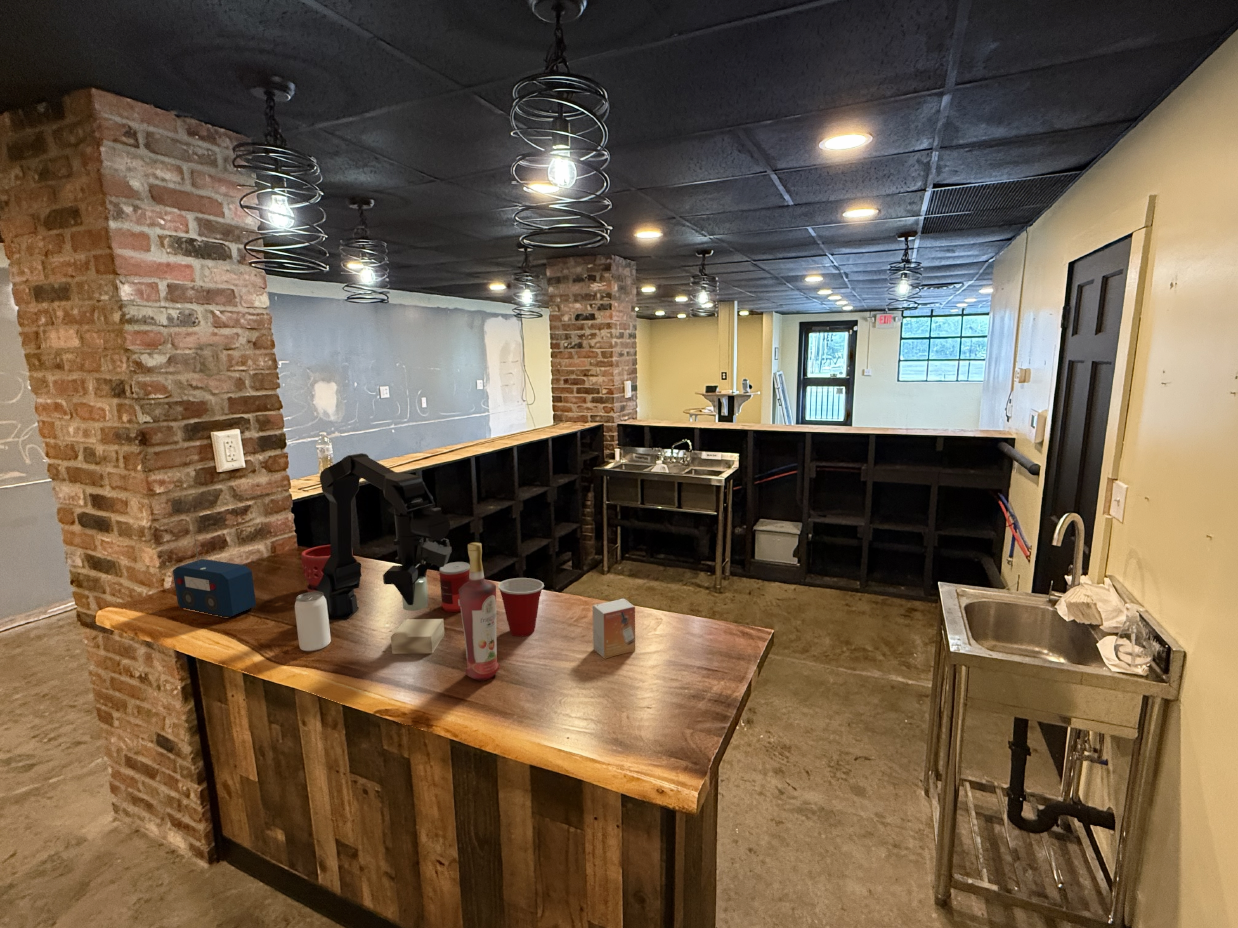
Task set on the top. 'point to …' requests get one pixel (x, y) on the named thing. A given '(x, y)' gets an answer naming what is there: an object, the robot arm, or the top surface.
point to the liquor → (479, 619)
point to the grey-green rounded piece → (418, 596)
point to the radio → (214, 587)
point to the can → (312, 621)
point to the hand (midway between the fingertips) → (415, 599)
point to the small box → (614, 628)
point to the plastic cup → (521, 604)
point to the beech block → (417, 636)
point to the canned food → (453, 584)
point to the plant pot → (315, 565)
